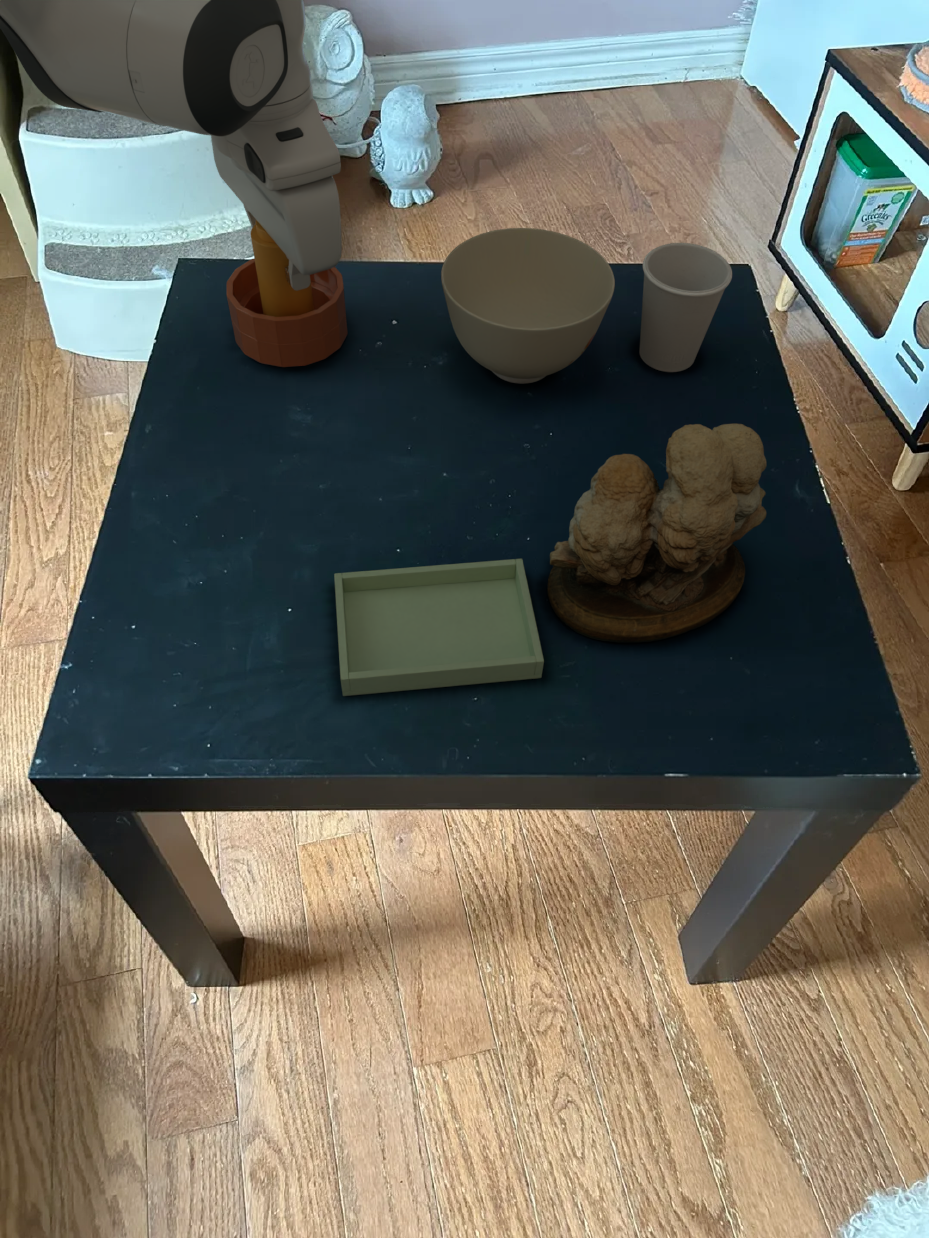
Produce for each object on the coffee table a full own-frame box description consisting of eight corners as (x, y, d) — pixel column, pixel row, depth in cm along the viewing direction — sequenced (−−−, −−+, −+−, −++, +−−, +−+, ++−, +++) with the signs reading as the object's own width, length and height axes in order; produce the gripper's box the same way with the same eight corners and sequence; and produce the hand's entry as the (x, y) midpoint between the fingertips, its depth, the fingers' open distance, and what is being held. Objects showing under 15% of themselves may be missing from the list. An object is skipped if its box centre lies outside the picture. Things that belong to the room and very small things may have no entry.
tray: (342, 696, 73) (340, 679, 71) (336, 591, 79) (334, 573, 77) (541, 678, 74) (544, 661, 72) (520, 576, 80) (522, 558, 78)
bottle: (279, 352, 96) (256, 205, 83) (258, 325, 98) (233, 179, 86) (324, 337, 97) (309, 191, 85) (303, 311, 100) (285, 165, 88)
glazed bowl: (263, 385, 94) (254, 333, 89) (219, 323, 99) (208, 271, 95) (366, 350, 97) (363, 298, 93) (318, 292, 103) (312, 240, 98)
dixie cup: (623, 327, 101) (640, 239, 93) (703, 330, 101) (727, 243, 93) (628, 378, 96) (646, 291, 88) (712, 383, 96) (738, 295, 88)
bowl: (547, 440, 90) (558, 352, 82) (408, 375, 95) (406, 287, 87) (627, 352, 98) (645, 265, 90) (496, 297, 103) (501, 209, 95)
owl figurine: (705, 504, 86) (756, 346, 72) (779, 602, 79) (852, 448, 66) (520, 561, 81) (539, 403, 67) (584, 669, 75) (618, 519, 61)
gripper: (180, 75, 85) (209, 221, 96) (277, 182, 75) (297, 332, 86) (247, 60, 87) (268, 204, 98) (350, 163, 77) (360, 311, 88)
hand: (282, 265), depth 92 cm, fingers open, 6 cm apart
